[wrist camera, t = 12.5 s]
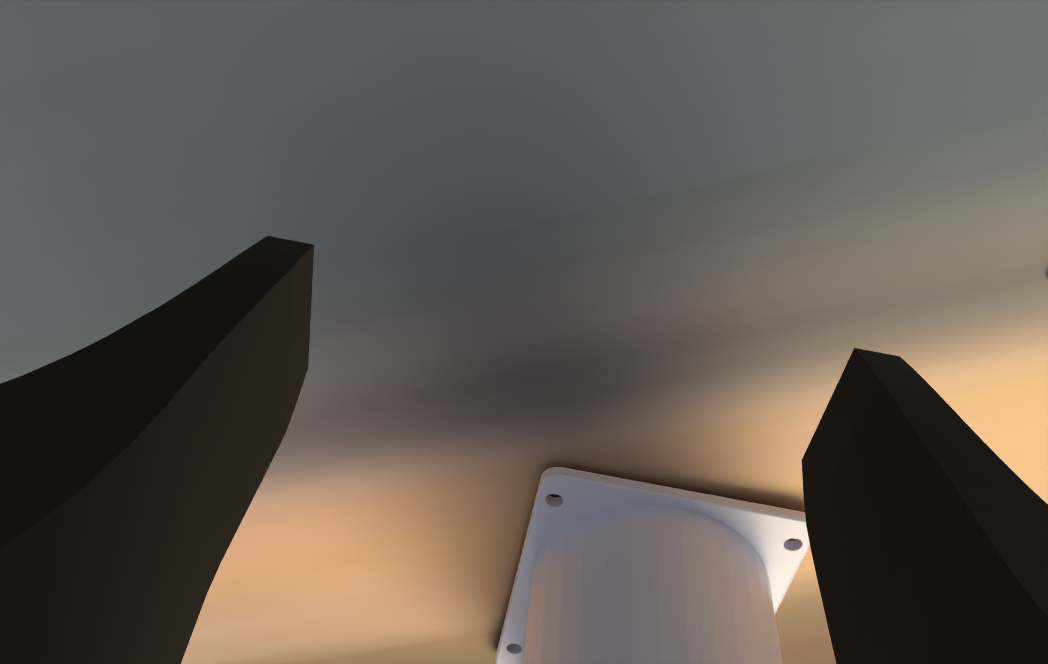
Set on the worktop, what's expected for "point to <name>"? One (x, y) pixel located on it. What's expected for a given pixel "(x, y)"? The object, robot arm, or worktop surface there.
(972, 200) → the worktop surface
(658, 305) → the worktop surface
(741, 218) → the worktop surface
